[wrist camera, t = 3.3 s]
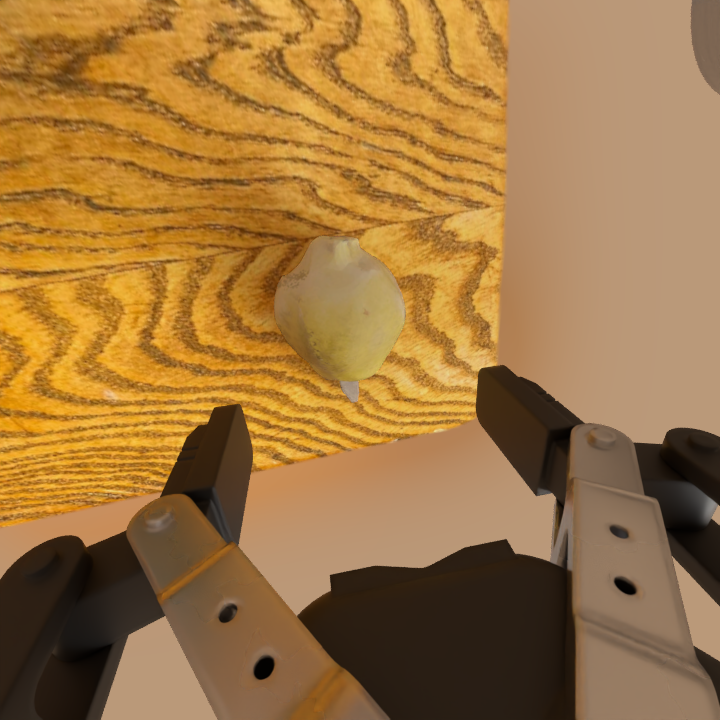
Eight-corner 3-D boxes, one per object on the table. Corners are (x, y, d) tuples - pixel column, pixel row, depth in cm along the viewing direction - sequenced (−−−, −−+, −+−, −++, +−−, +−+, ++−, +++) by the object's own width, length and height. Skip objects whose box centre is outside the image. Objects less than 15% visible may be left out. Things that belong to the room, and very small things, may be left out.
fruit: (304, 402, 22) (239, 245, 16) (386, 361, 24) (354, 205, 18) (342, 465, 18) (272, 280, 12) (440, 410, 19) (421, 223, 13)
